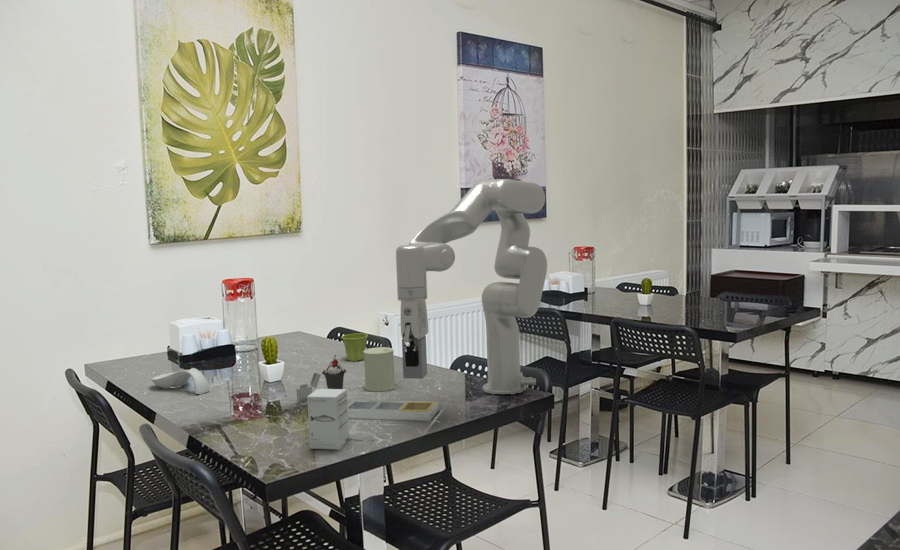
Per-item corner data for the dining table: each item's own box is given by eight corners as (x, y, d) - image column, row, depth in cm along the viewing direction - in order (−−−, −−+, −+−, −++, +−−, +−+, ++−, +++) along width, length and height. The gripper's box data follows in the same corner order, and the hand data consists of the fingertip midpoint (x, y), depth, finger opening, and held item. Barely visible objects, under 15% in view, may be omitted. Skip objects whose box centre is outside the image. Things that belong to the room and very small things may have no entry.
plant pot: (367, 362, 256) (366, 337, 256) (340, 363, 257) (339, 338, 256) (370, 356, 266) (369, 332, 265) (344, 357, 266) (343, 333, 265)
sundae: (337, 411, 197) (334, 357, 196) (319, 408, 201) (316, 355, 199) (353, 405, 203) (350, 352, 201) (335, 402, 206) (332, 350, 205)
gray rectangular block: (427, 373, 189) (425, 334, 188) (422, 378, 184) (420, 338, 183) (408, 373, 190) (407, 334, 189) (403, 378, 185) (401, 338, 184)
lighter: (299, 404, 206) (298, 376, 205) (297, 402, 207) (295, 375, 206) (322, 399, 210) (320, 372, 209) (319, 398, 211) (318, 371, 211)
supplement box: (308, 449, 168) (305, 396, 166) (321, 439, 175) (318, 387, 173) (339, 450, 166) (336, 396, 165) (350, 440, 173) (347, 388, 172)
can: (390, 391, 215) (388, 352, 214) (360, 391, 217) (358, 351, 216) (399, 383, 224) (397, 345, 223) (370, 383, 226) (368, 345, 225)
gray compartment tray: (439, 412, 192) (438, 401, 192) (430, 424, 183) (429, 412, 182) (353, 410, 197) (352, 399, 197) (339, 421, 188) (339, 410, 187)
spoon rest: (145, 388, 232) (143, 366, 231) (178, 380, 241) (176, 359, 240) (187, 399, 217) (185, 375, 216) (221, 390, 226) (219, 367, 226)
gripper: (417, 298, 176) (420, 371, 178) (434, 289, 192) (436, 357, 194) (388, 298, 177) (391, 371, 179) (407, 289, 194) (409, 356, 196)
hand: (414, 363), depth 187 cm, fingers closed on gray rectangular block, 5 cm apart
